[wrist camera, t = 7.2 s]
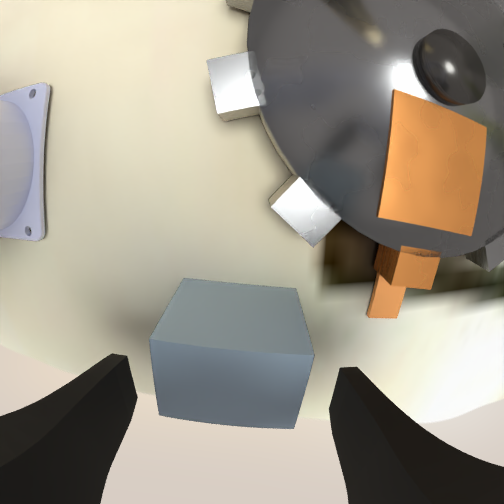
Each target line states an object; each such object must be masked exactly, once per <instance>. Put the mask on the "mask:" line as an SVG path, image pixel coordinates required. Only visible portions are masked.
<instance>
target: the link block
mask: <svg viewBox="0 0 504 504" xmlns="http://www.w3.org/2000/svg"><path fill="white" fill-rule="evenodd" d="M149 342H150V352H151V361H152V369H153V377H154V385H155V392H156V399H157V405H158V411H159V415H161V416H166V417H171V418H177V419H183V420H189V421H196V422H204V423H211V424H220V425H231V426H242V427H257V428H280V429H294V427H295V423H296V420H297V417H298V414H299V410H300V407H301V403H302V400H303V397H304V393H305V389H306V386H307V382H308V379H309V375H310V371H311V367H312V363H313V359H314V356H315V355H314V351H313V347H312V344H311V340H310V336H309V333H308V329H307V325H306V322H305V318H304V315H303V311H302V308H301V304H300V301H299V297H298V294H297V290H296V289H295V288H283V287H271V286H259V285H248V284H238V283H227V282H217V281H207V280H198V279H189V278H184V279H183V281H182V282H181V284H180V286H179V287H178V289H177V291H176V293H175V294H174V296H173V298H172V299H171V301H170V303H169V305H168V306H167V308H166V310H165V312H164V313H163V315H162V317H161V319H160V320H159V322H158V324H157V326H156V328H155V329H154V331H153V333H152V335H151V336H150V338H149Z"/></svg>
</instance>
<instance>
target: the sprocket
mask: <svg viewBox="0 0 504 504" xmlns="http://www.w3.org/2000/svg"><path fill="white" fill-rule="evenodd" d="M226 3H227V5H228V6H231V7H235V8H238V9H241V10H244V11H247V12H250V16H249V22H248V36H247V48H248V52H243V53H238V54H232V55H227V56H223V57H218V58H214V59H209V60H207V65H208V70H209V75H210V80H211V85H212V90H213V95H214V100H215V105H216V110H217V114H218V115H219V116H220V117H221V119H222V120H223V121H229V120H234V119H239V118H244V117H249V116H254V115H260V118H261V120H262V123H263V126H264V128H265V130H266V132H267V134H268V136H269V138H270V140H271V142H272V144H273V146H274V147H275V149H276V151H277V152H278V154H279V155H280V157H281V158H282V160H283V161H284V163H285V164H286V166H287V167H288V169H289V170H290V172H291V173H292V174H293V175H292V176H291V177H290V178H289V179H288V180H287V181H286V182H285V183H284V184H283V185H282V186H281V187H280V188H279V189H278V190H277V191H276V192H275V193H274V194H273V195H272V196H271V197H270V198H269V203H270V206H271V208H272V209H273V210H274V211H276V212H277V213H278V214H279V215H280V216H281V217H282V218H283V219H284V220H285V221H286V222H287V223H288V224H289V225H290V226H291V227H292V228H293V229H295V230H296V231H297V232H298V233H299V234H300V235H301V236H302V237H303V238H304V239H305V240H306V241H307V242H308V243H309V244H310V245H311V246H312V247H314V246H315V245H316V244H317V243H318V242H319V241H320V240H321V239H322V238H323V237H324V236H325V235H326V234H327V233H328V232H329V231H330V230H331V229H332V228H333V227H334V226H335V225H336V224H337V223H338V222H339V221H340V220H341V219H342V220H343V221H345V222H346V223H347V224H349V225H350V226H352V227H353V228H354V229H356V230H357V231H358V232H360V233H362V234H364V235H365V236H367V237H369V238H371V239H372V240H374V241H376V242H378V243H379V246H378V251H377V255H376V259H375V263H374V269H375V270H376V271H377V272H378V273H379V274H380V275H381V276H382V277H383V278H384V279H385V280H386V281H387V282H388V283H389V284H390V285H391V286H398V287H408V288H419V289H430V290H431V287H432V284H433V281H434V278H435V274H436V271H437V267H438V264H439V260H440V258H443V257H453V256H459V255H463V254H465V256H466V258H467V259H469V260H470V261H472V262H474V263H475V264H477V265H479V266H480V267H482V268H484V269H485V270H487V271H491V270H492V269H493V268H495V267H496V266H497V265H498V264H500V263H501V262H502V261H503V260H504V0H226Z"/></svg>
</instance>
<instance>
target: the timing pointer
mask: <svg viewBox="0 0 504 504" xmlns="http://www.w3.org/2000/svg"><path fill="white" fill-rule="evenodd" d="M405 289H406V287H398V286H391V285H390V284H389V283H388V282H387V281H386V280H385V279H384V278H383V277H382V276H381V275H380V274H379V273H378V272H377V277H376V281H375V285H374V289H373V293H372V297H371V301H370V305H369V308H368V312H367V316H368V317H369V318H397V316H398V313H399V310H400V307H401V303H402V300H403V296H404V293H405Z"/></svg>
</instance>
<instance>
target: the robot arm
mask: <svg viewBox="0 0 504 504" xmlns="http://www.w3.org/2000/svg"><path fill="white" fill-rule="evenodd" d="M35 91H36V94H35V96H34V93H35ZM49 96H50V86H49V85H48V84H47V83H38V84H35V85H31V86H28V87H24V88H21V89H18V90H14V91H11V92H8V93H5V94H2V95H0V237H5V238H14V239H22V240H31V241H39V240H41V239H42V238H43V237H44V235H45V222H44V199H43V167H44V144H45V131H46V120H47V111H48V103H49ZM29 228H31V231H32V232H30V229H29ZM137 398H138V397H137V393H136V390H135V386H134V382H133V378H132V374H131V370H130V366H129V362H128V357H127V356H124V355H118V354H110V355H109V356H107V357H106V358H104V359H103V360H101V361H100V362H98V363H97V364H95V365H94V366H92V367H91V368H90V369H88V370H87V371H85V372H84V373H82V374H81V375H79V376H78V377H76V378H75V379H74V380H72V381H71V382H69V383H68V384H66V385H64V386H63V387H61V388H59V389H58V390H56V391H54V392H53V393H51V394H50V395H48V396H46V397H44V398H42V399H41V400H39V401H37V402H35V403H33V404H30V405H28V406H26V407H24V408H22V409H19V410H17V411H14V412H11V413H8V414H6V415H3V416H0V504H100V503H101V498H102V493H103V490H104V486H105V483H106V479H107V475H108V473H109V470H110V467H111V465H112V462H113V460H114V458H115V455H116V453H117V451H118V449H119V447H120V444H121V442H122V440H123V438H124V435H125V433H126V431H127V429H128V426H129V424H130V422H131V419H132V416H133V412H134V409H135V405H136V402H137ZM329 413H330V421H331V428H332V435H333V439H334V442H335V446H336V450H337V454H338V457H339V461H340V465H341V469H342V472H343V476H344V480H345V483H346V488H347V494H348V503H349V504H504V467H502V466H498V465H495V464H491V463H488V462H486V461H483V460H480V459H478V458H475V457H473V456H471V455H468V454H466V453H464V452H462V451H460V450H458V449H456V448H454V447H452V446H451V445H448V444H447V443H445V442H444V441H442V440H440V439H439V438H437V437H436V436H434V435H433V434H431V433H430V432H428V431H426V430H425V429H424V428H423V427H421V426H420V425H419V424H417V423H416V422H415V421H414V420H412V419H411V418H410V417H409V416H407V415H406V414H405V413H404V412H403V411H402V410H400V409H399V408H398V407H397V406H396V405H395V404H394V403H393V402H392V401H391V400H390V399H389V398H387V397H386V396H385V395H384V394H383V393H382V392H381V391H380V390H379V389H378V388H377V387H376V386H375V385H374V384H373V383H372V382H371V381H370V379H369V378H368V377H367V376H366V375H365V374H364V373H363V372H362V371H361V370H360V369H359V368H358V367H344V368H340V369H339V373H338V377H337V381H336V385H335V389H334V393H333V396H332V400H331V403H330V407H329Z"/></svg>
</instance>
